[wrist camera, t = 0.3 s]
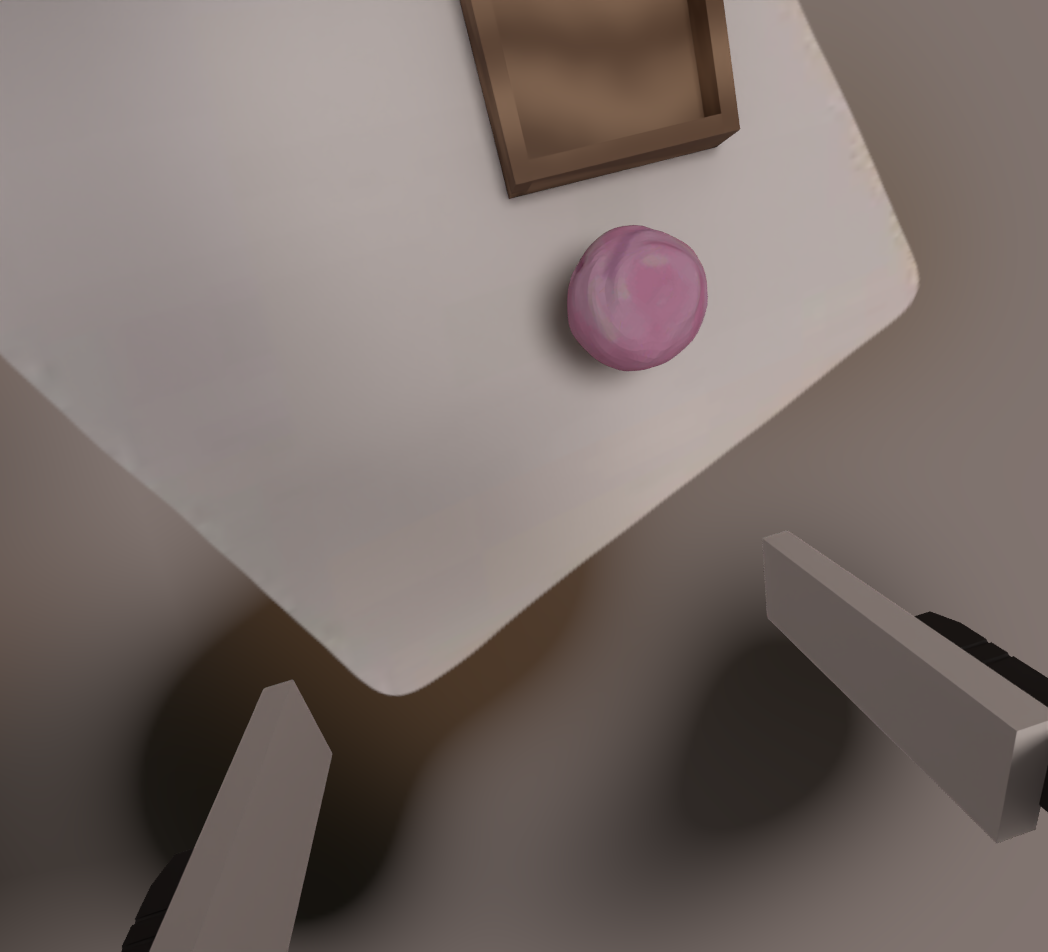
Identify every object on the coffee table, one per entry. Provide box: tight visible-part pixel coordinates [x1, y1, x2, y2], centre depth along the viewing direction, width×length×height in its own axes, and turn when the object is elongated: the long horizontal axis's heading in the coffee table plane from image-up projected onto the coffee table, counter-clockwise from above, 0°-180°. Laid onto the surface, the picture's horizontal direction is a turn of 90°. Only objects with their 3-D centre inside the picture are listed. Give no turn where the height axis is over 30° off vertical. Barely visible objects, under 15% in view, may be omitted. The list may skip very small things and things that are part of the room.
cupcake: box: [567, 225, 708, 371], centre depth 34 cm, size 9×9×10 cm
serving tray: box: [460, 0, 740, 199], centre depth 33 cm, size 16×16×3 cm
